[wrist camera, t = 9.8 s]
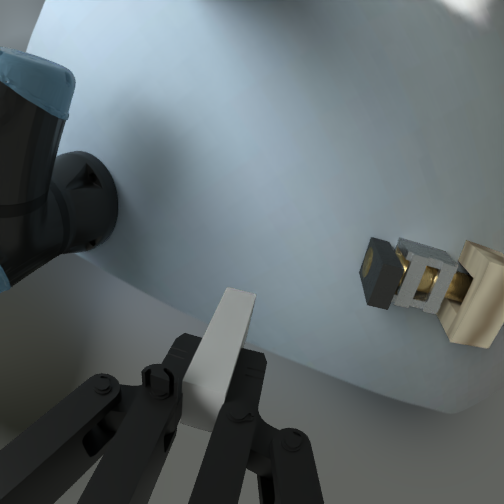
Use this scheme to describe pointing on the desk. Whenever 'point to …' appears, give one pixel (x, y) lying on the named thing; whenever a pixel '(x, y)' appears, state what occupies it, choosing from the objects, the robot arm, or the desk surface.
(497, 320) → the socket
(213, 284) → the desk surface
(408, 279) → the sleeve
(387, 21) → the desk surface
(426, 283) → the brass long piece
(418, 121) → the desk surface
